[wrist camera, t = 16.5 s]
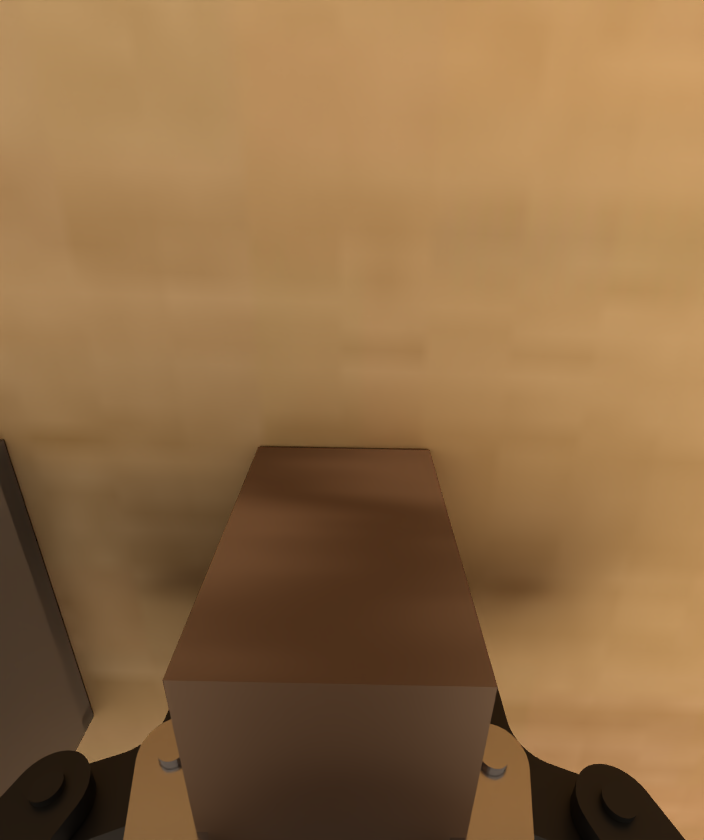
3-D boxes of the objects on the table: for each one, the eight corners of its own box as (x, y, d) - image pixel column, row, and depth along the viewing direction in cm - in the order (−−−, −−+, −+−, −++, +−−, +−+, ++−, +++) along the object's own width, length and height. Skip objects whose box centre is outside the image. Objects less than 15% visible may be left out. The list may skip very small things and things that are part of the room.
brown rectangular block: (278, 702, 15) (231, 991, 9) (258, 446, 11) (162, 680, 6) (406, 704, 15) (433, 996, 9) (429, 449, 11) (497, 687, 6)
